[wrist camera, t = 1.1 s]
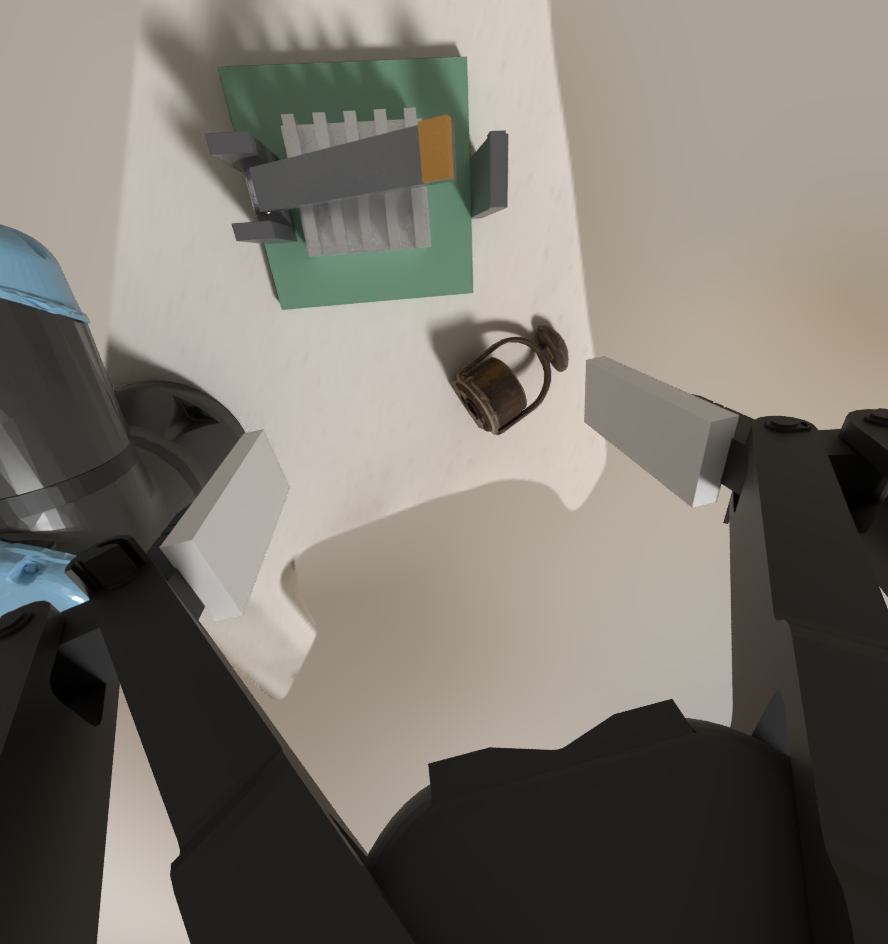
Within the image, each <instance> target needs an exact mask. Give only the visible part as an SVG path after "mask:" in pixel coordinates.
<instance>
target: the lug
mask: <svg viewBox="0 0 888 944" xmlns="http://www.w3.org/2000/svg"><path fill="white" fill-rule="evenodd" d="M470 189H471V219H475V218H483V217H485V216H488V215H490V214H493V213H495V212H497V211H500V210H502V209H505V208H507V190H508V134H506V130H504V131H490V132H489V133H488V135H487V139H486V141H485V142H484V143H483V144H482V145H481V147H480V148H479V149H478V150H477V151H476V153H475V154H474V155H473V156H472V157H471V159H470Z"/></svg>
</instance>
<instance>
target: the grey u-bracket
mask: <svg viewBox="0 0 888 944" xmlns="http://www.w3.org/2000/svg"><path fill="white" fill-rule="evenodd" d="M205 136H206V139H207V143H208V146H209V150H210V153H211V155H212V156H214V157H216V158H218V159H219V160H221V161H223V162H225V163H226V164H228V165H230V166H232V167H233V168H235V169H237V170H239V171H240V172H242V173H244V172H243V168H242V167H245V166H259V165H263V164H267V163H270V162H274V161H278V160H279V158H278V157H277V156H276V155H275V154H273V153H272V152H271V151H270V150H269V149H268V148H267V147H266V146H264V145H263V144H262V143H261V142H260V141H259V140H258V139H257V138H255V137H254V136H253V135H252V134H251V133H250V132H249V131H245V132H227V133H208V134H205ZM257 216H258V215H257ZM258 220H259V222H246V223H232V227H233V231H234V234H235V237H236V241H242V242H252V243H262V244H274V243H287V242H298V240H297V236H296V231H295V227H294V223H293V218H292V214H291V209H289V210H283V211H277V212H271V213H270V215H261V216H258Z"/></svg>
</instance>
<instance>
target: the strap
mask: <svg viewBox="0 0 888 944" xmlns="http://www.w3.org/2000/svg"><path fill="white" fill-rule="evenodd" d="M242 168H243V172H244V176H245V180H246V183H247V187H248V191H249V195H250V198H251V202H252V206H253V210H254V213H255V215H258V216H261V215H270V213H271V212H277V211H283V210H289V209H294V208H300V207H306V206H312V205H318V204H324V203H330V202H336V201H341V200H347V199H353V198H359V197H365V196H371V195H377V194H383V193H389V192H394V191H400V190H406V189H412V188H418V187H424V186H430V185H436V184H441V183H447V182H453V181H457V176H456V152H455V128H454V121H453V120H451V117H450V116H448V115H442V116H438V117H434V118H431V119H427V120H423V121H419V122H418V125H416V126H412V127H408V128H404V129H400V130H396V131H392V132H388V133H384V134H380V135H376V136H373V137H369V138H365V139H361V140H357V141H353V142H349V143H345V144H341V145H337V146H333V147H329V148H325V149H321V150H318V151H314V152H310V153H306V154H302V155H298V156H294V157H290V158H286V159H282V160H278V161H274V162H270V163H267V164H263V165H259V166H245V167H242Z"/></svg>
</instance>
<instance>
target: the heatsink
mask: <svg viewBox="0 0 888 944" xmlns="http://www.w3.org/2000/svg"><path fill="white" fill-rule="evenodd" d="M312 115H313V120H314V124H306V125H301V124H300V123H299V121H298V120H297V118H296V117H295V115H294V114H281V117H282V122H283V126H281V130H282V135H283V139H284V144H285V148H286V153H287V158H290V157H294V156H298V155H302V154H306V153H310V152H314V151H318V150H321V149H325V148H329V147H333V146H337V145H341V144H345V143H349V142H353V141H357V140H361V139H365V138H369V137H373V136H376V135H380V134H384V133H388V132H392V131H396V130H400V129H404V128H408V127H412V126H416V125H418V122H419V121H422V118H419V119H417V118H416V107H414V108H404V110H403V119H400V120H387V117H386V109H375V110H374V119H375V121H362V122H358V120H357V116H356V112H355V111H343V115H344V121H345V122H343V123H329V121H328V119H327V117H326V114H325V112H316V113H312ZM299 213H300V217H301V222H302V227H303V231H304V236H305V240H306V245H307V250H308V254H309V257H317V256H329V255H342V254H355V253H368V252H380V251H393V250H406V249H418V248H429V247H431V235H430V221H429V208H428V194H427V186H424V187H418V188H412V189H406V190H400V191H394V192H389V193H383V194H377V195H371V196H365V197H359V198H353V199H347V200H341V201H336V202H330V203H324V204H318V205H312V206H306V207H300V208H299Z"/></svg>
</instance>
